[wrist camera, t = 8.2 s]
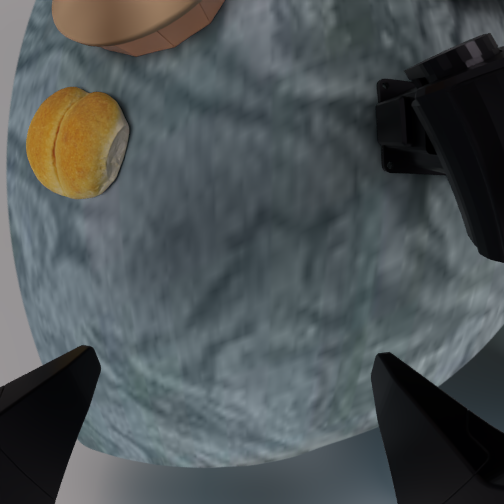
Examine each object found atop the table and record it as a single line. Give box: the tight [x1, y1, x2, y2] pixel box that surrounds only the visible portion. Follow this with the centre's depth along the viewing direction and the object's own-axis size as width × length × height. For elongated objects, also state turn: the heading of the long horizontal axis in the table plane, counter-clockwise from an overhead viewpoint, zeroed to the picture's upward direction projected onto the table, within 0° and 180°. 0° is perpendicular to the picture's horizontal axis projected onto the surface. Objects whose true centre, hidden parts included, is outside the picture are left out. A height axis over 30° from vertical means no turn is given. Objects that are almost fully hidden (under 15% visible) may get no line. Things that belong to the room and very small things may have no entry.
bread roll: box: [26, 87, 129, 199], centre depth 17 cm, size 8×9×4 cm
